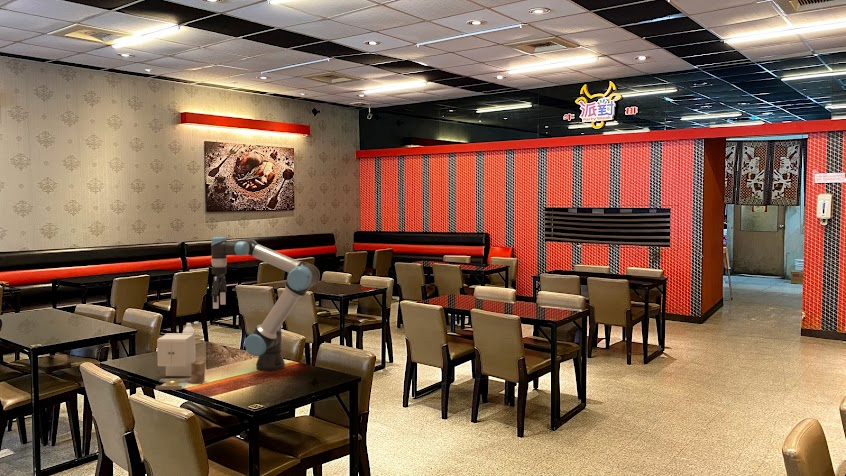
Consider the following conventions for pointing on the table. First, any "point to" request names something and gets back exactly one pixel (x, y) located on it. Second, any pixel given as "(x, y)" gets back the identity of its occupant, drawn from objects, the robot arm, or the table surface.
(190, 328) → the water bottle
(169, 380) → the brass puck
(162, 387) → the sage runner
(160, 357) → the wall cabinet
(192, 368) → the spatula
